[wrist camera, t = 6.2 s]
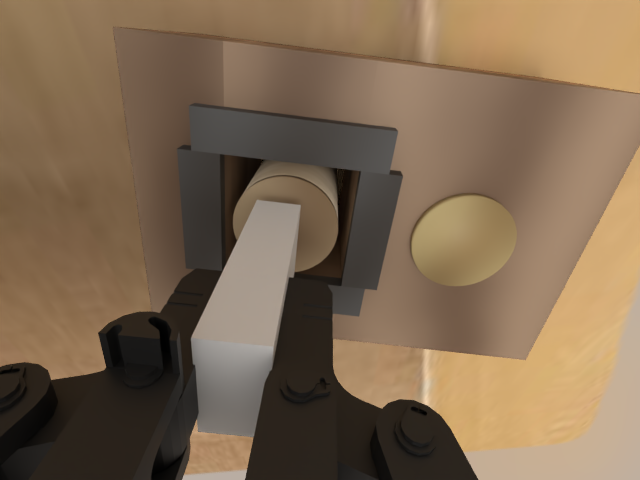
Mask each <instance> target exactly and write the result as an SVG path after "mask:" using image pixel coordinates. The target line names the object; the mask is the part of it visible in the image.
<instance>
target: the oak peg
mask: <svg viewBox="0 0 640 480" xmlns="http://www.w3.org/2000/svg"><path fill="white" fill-rule="evenodd" d="M257 200H262V201H270V202H279V203H288V204H296V205H301V208H300V219H299V229H298V240H297V250H296V261H295V271H294V272H299V271H303V270H307V269H309V268H312V267H314V266H315V265H317V264H319V263H320V262H321V261H323V260H324V259H325V258H326V257H327V256H328V255H329V253H330V252H331V250H332V249H333V247H334V245H335V242H336V239H337V235H338V194H337V168H331V167H323V166H315V165H306V164H298V163H290V162H282V161H273V160H265V159H264V160H263V162H262V164H261V165H260V167H259V169H258V170H257V172H256V173H255V175H254V177H253V178H252V180H251V181H250V183H249V185H248V186H247V188H246V190H245V191H244V193H243V194H242V196H241V198H240V199H239V201H238V203H237V205H236V207H235V210H234V215H233V229H234V234H235V237H236V240H237V241H238V239H239V236H240V234H241V232H242V230H243V228H244V226H245V224H246V222H247V220H248V218H249V215H250V213H251V211H252V209H253V207H254V205H255V203H256V201H257Z"/></svg>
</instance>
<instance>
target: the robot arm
mask: <svg viewBox="0 0 640 480" xmlns="http://www.w3.org/2000/svg"><path fill="white" fill-rule="evenodd" d="M300 208H301V205H296V204H288V203H279V202H270V201H262V200H257V201H256V203H255V205H254V207H253V209H252V211H251V213H250V215H249V218H248V220H247V222H246V224H245V226H244V228H243V230H242V232H241V234H240V236H239V239H238V241H237V243H236V245H235V247H234V249H233V251H232V253H231V255H230V257H229V259H228V262H227V264H226V266H225V268H224V270H223V271H218V270H209V269H200V268H196V269H194V270H193V271H192V272H190V273H189V274H187V275H186V276H184V277H183V278H182V279H181V280H180V282H179V283H178V285H177V287H176V288H175V290H174V293H173V294H171V296H170V298H169V299H168V301H167V304H165V305H164V307H163V309H162V310H161V312H160V313H158V312H137V313H133V314H129V315H125V316H122V317H120V318H118V319H116V320H114V321H112V322H110V323H109V324H108V325H106V326H105V327H104V328H103V329H102V330H101V331H100V332H99V333H98V334H99V338H100V342H101V346H102V350H103V355H104V359H105V363H106V369H105V370H104V371H101V372H97V373H92V374H88V375H81V376H75V377H69V378H62V379H56V380H51V378H50V375H49V372H48V370H46V369H45V368H43V367H42V366H40V365H39V364H32V363H25V362H24V363H17V364H9V365H5V366H2V367H0V480H182V478H183V475H184V472H185V469H186V466H187V463H188V461H189V455H190V436H191V433H192V430H193V427H194V425H195V422H196V419H197V424H198V432H207V433H217V434H227V435H237V436H248V437H254V439H253V444H252V449H251V453H250V458H249V463H248V468H247V473H246V478H245V480H478V478H477V476H476V475H475V473H474V471H473V469H472V468H471V465H470V464H469V462H468V460H467V458H466V456H465V455H464V453H463V451H462V449H461V447H460V445H459V444H458V442H457V440H456V438H455V436H454V434H453V433H452V431H451V429H450V428H449V426H448V425H447V424H446V422H445V421H444V420H443V418H442V417H441V416H440V415H439V414H438V413H436V412H435V411H434V410H432V409H431V408H430V407H428V406H427V405H424V404H422V403H419V402H417V401H414V400H402V399H399V400H396V401H393V402H390V403H388V404H387V405H386V406H385V407H384V408H383V409H381V408H379V407H376V406H374V405H371V404H369V403H367V402H364V401H362V400H360V399H358V398H356V397H354V396H352V395H351V394H350V393H349V392H347V391H346V390H345V389H344V388H343V387H342V386H341V384H340V383H339V382H338V380H337V378H336V376H335V374H334V370H333V321H332V319H333V309H332V308H333V293H332V292H331V290H330V288H329V287H328V285H327V283H326V282H325V281H320V280H311V279H302V278H293V277H294V271H295V261H296V250H297V240H298V229H299V219H300Z"/></svg>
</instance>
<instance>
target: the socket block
mask: <svg viewBox="0 0 640 480" xmlns="http://www.w3.org/2000/svg"><path fill="white" fill-rule="evenodd" d="M113 31H114V39H115V46H116V53H117V61H118V68H119V75H120V82H121V90H122V97H123V104H124V112H125V119H126V126H127V134H128V141H129V148H130V156H131V163H132V170H133V178H134V185H135V192H136V200H137V207H138V214H139V222H140V229H141V236H142V243H143V251H144V258H145V265H146V273H147V280H148V287H149V295H150V302H151V309H152V312H158V313H160V312H161V310H162V309H163V307H164V305H165V304H167V301H168V299H169V298H170V296H171V294H173V293H174V290H175V288H176V287H177V285H178V283H179V282H180V280H181V279H182V278H183V277H184V276H186V275H187V274H189V273H190V272H192V271H193V270H194V269H196V268H200V269H209V270H218V271H223V270H224V268H225V266H226V264H227V262H228V259H229V257H230V255H231V253H232V251H233V249H234V247H235V245H236V243H237V240H236V237H235V234H234V229H233V215H234V210H235V207H236V205H237V203H238V201H239V199H240V198H241V196H242V194H243V193H244V191H245V190H246V188H247V186H248V185H249V183H250V181H251V180H252V178H253V177H254V175H255V173H256V172H257V170H258V169H259V167H260V165H261V159H265V160H273V161H282V162H290V163H298V164H306V165H315V166H323V167H331V168H339V169H345V171H344V177H343V184H342V191H341V197H340V204H339V206H338V235H337V239H336V242H335V245H334V247H333V249H332V250H331V252H330V253H329V255H328V256H327V257H326V258H325V259H324V260H323V261H321V262H320V263H319V264H317V265H315V266H314V267H312V268H309V269H307V270H303V271H299V272H294V277H293V278H302V279H311V280H320V281H325V282H326V283H327V285H328V287H329V288H330V290H331V292H332V293H333V308H332V309H333V319H332V321H333V339H341V340H350V341H359V342H368V343H377V344H386V345H395V346H404V347H413V348H422V349H431V350H440V351H449V352H458V353H467V354H476V355H485V356H494V357H503V358H512V359H521V360H526V358H527V356H528V354H529V352H530V351H531V349H532V347H533V345H534V343H535V341H536V339H537V337H538V336H539V334H540V332H541V330H542V328H543V326H544V324H545V322H546V320H547V319H548V317H549V315H550V313H551V311H552V309H553V307H554V305H555V303H556V302H557V300H558V298H559V296H560V294H561V292H562V290H563V288H564V287H565V285H566V283H567V281H568V279H569V277H570V275H571V273H572V271H573V270H574V268H575V266H576V264H577V262H578V260H579V258H580V256H581V255H582V253H583V251H584V249H585V247H586V245H587V243H588V241H589V239H590V238H591V236H592V234H593V232H594V230H595V228H596V226H597V224H598V222H599V221H600V219H601V217H602V215H603V213H604V211H605V209H606V207H607V206H608V204H609V202H610V200H611V198H612V196H613V194H614V192H615V190H616V189H617V187H618V185H619V183H620V181H621V179H622V177H623V175H624V174H625V172H626V170H627V168H628V166H629V164H630V162H631V160H632V158H633V157H634V155H635V153H636V151H637V149H638V147H639V145H640V94H639V93H633V92H626V91H620V90H614V89H608V88H602V87H595V86H589V85H583V84H577V83H570V82H564V81H558V80H552V79H545V78H538V77H531V76H523V75H515V74H507V73H499V72H492V71H484V70H476V69H468V68H461V67H453V66H445V65H437V64H429V63H422V62H414V61H406V60H398V59H391V58H383V57H375V56H367V55H360V54H352V53H344V52H336V51H328V50H321V49H313V48H305V47H297V46H290V45H282V44H274V43H266V42H258V41H251V40H243V39H235V38H227V37H220V36H212V35H204V34H196V33H183V32H171V31H159V30H146V29H134V28H122V27H113Z"/></svg>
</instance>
